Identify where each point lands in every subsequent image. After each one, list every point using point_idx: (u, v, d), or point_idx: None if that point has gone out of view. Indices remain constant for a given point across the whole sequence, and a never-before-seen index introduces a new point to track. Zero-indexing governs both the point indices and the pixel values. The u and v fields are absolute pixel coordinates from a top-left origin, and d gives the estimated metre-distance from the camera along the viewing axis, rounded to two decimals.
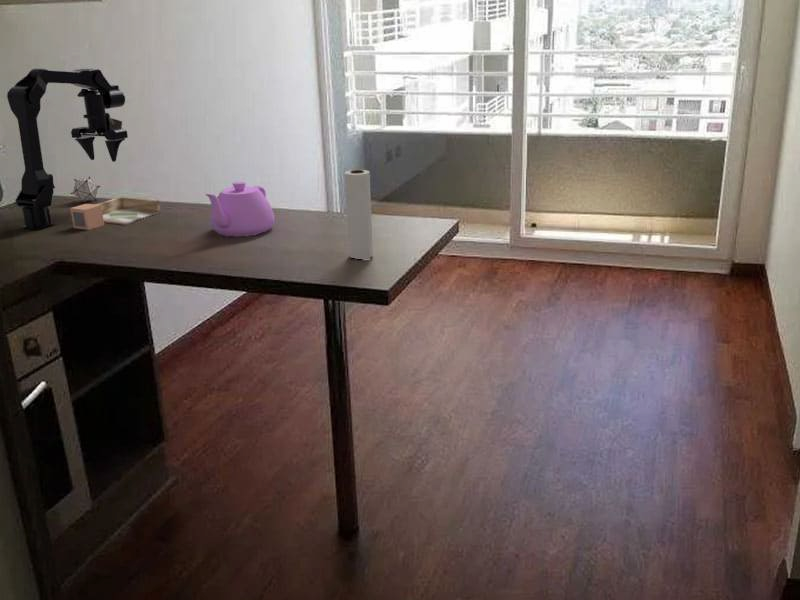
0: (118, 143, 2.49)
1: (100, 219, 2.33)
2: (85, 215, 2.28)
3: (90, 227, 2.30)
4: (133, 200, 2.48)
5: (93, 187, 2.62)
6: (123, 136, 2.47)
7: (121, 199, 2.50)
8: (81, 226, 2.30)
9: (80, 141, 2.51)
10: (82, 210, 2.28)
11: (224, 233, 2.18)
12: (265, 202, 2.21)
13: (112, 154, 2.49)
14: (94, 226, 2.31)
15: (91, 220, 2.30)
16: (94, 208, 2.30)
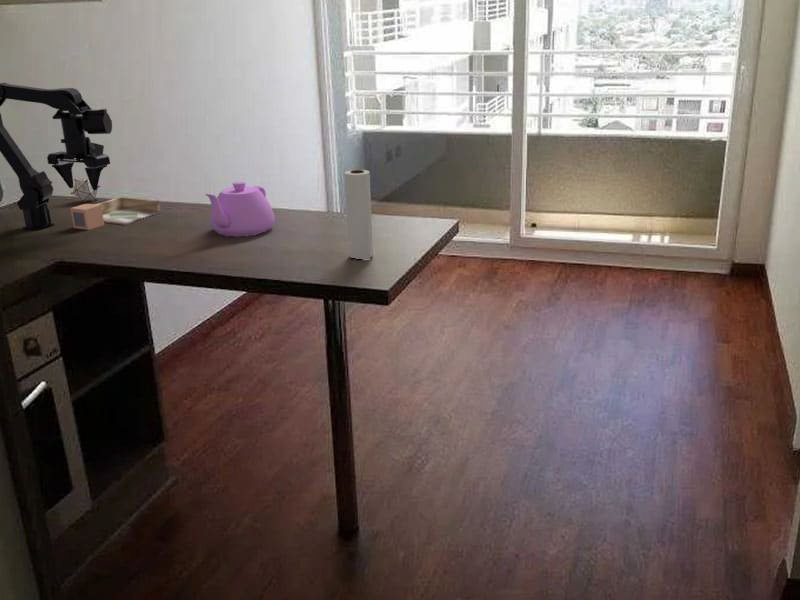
0: (99, 170, 2.26)
1: (100, 219, 2.33)
2: (85, 215, 2.28)
3: (90, 227, 2.30)
4: (133, 200, 2.48)
5: None
6: (105, 163, 2.24)
7: (121, 199, 2.50)
8: (81, 226, 2.30)
9: (57, 168, 2.28)
10: (82, 210, 2.28)
11: (224, 233, 2.18)
12: (265, 202, 2.21)
13: (93, 182, 2.26)
14: (94, 226, 2.31)
15: (91, 220, 2.30)
16: (94, 208, 2.30)
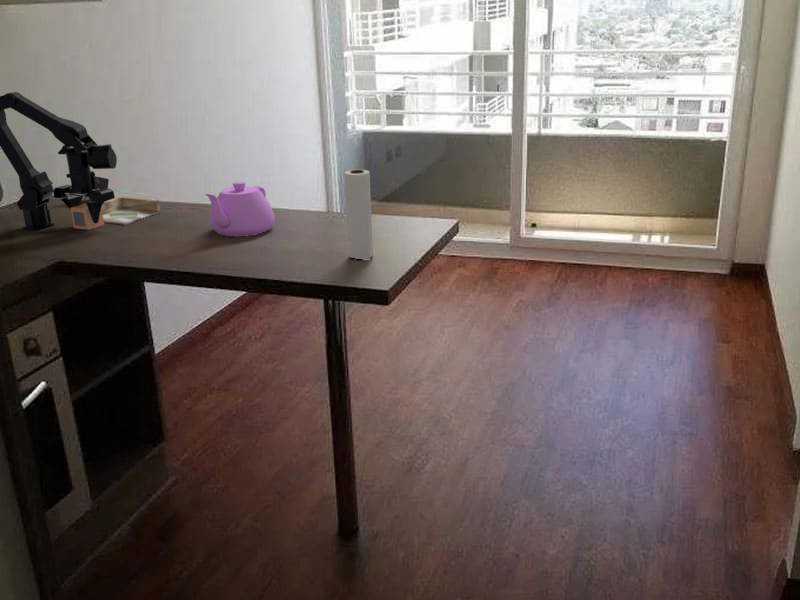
0: (100, 204, 2.30)
1: (100, 219, 2.33)
2: (84, 215, 2.28)
3: (90, 227, 2.30)
4: (133, 200, 2.48)
5: None
6: (109, 197, 2.27)
7: (121, 199, 2.50)
8: (81, 226, 2.30)
9: (66, 202, 2.30)
10: (82, 210, 2.28)
11: (224, 233, 2.18)
12: (265, 202, 2.21)
13: (94, 216, 2.29)
14: (94, 226, 2.31)
15: (91, 220, 2.30)
16: None
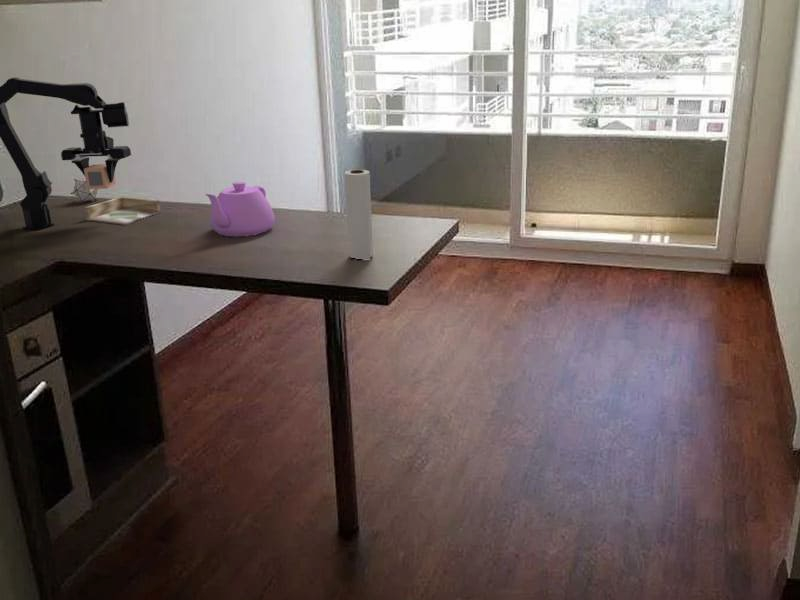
0: (116, 162, 2.33)
1: (113, 178, 2.35)
2: (103, 173, 2.30)
3: (108, 186, 2.32)
4: (133, 200, 2.48)
5: None
6: (128, 154, 2.31)
7: (121, 199, 2.50)
8: (98, 185, 2.31)
9: (79, 163, 2.30)
10: (100, 169, 2.30)
11: (224, 233, 2.18)
12: (265, 202, 2.21)
13: (111, 174, 2.32)
14: (110, 185, 2.33)
15: (108, 179, 2.32)
16: None
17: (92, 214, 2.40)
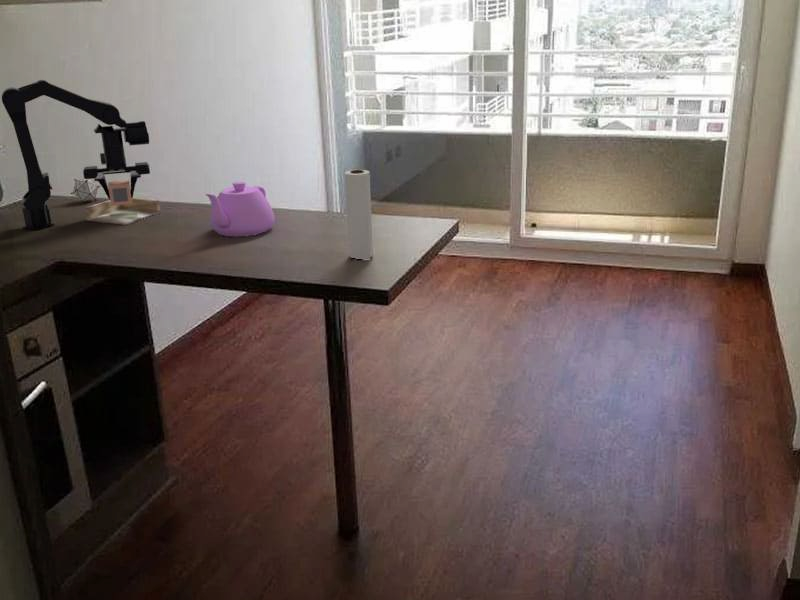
0: None
1: None
2: (128, 189, 2.39)
3: (131, 201, 2.41)
4: (133, 200, 2.48)
5: (93, 187, 2.62)
6: None
7: None
8: (123, 201, 2.39)
9: (103, 181, 2.36)
10: (125, 185, 2.38)
11: (224, 233, 2.18)
12: (265, 202, 2.21)
13: (133, 190, 2.41)
14: None
15: None
16: None
17: (92, 214, 2.40)
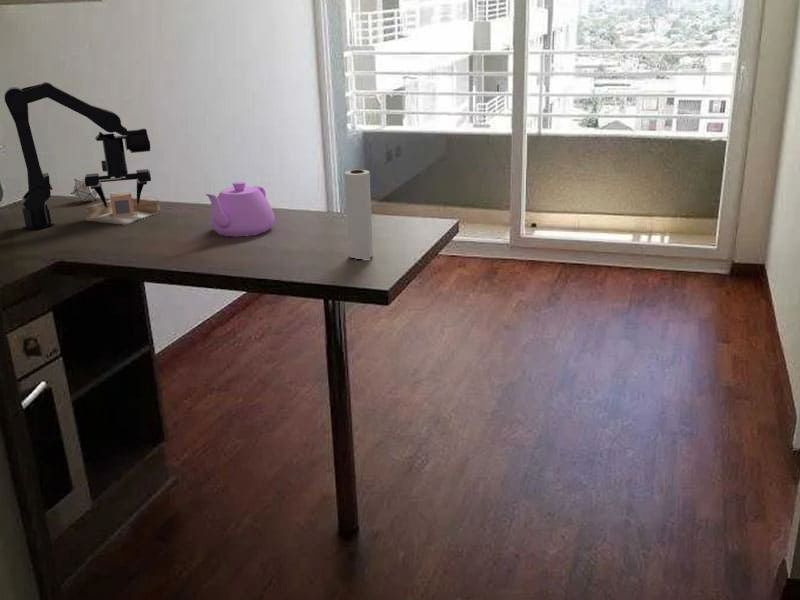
0: None
1: None
2: (130, 201, 2.40)
3: (133, 213, 2.42)
4: (133, 200, 2.48)
5: None
6: None
7: None
8: (125, 213, 2.41)
9: (99, 189, 2.36)
10: (127, 197, 2.39)
11: (224, 233, 2.18)
12: (265, 202, 2.21)
13: None
14: (133, 212, 2.44)
15: None
16: None
17: (92, 214, 2.40)
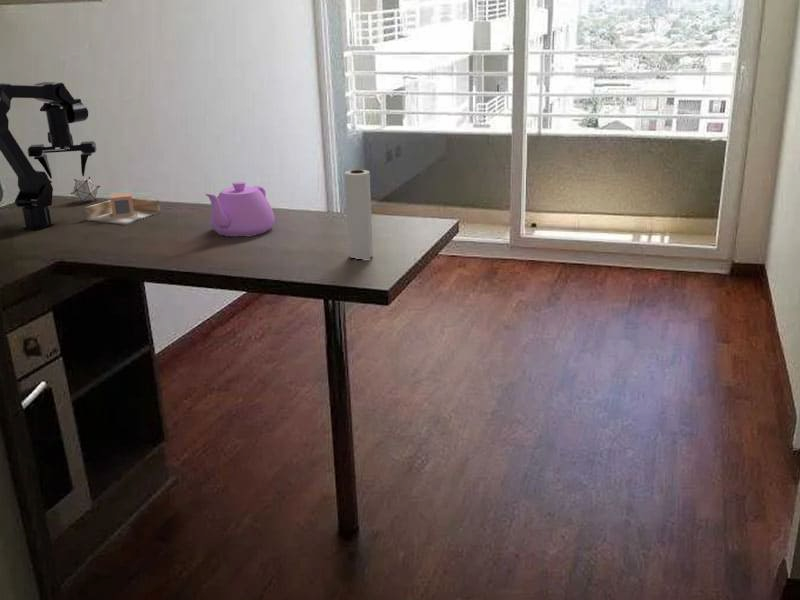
0: (87, 156, 2.44)
1: None
2: (130, 201, 2.40)
3: (133, 213, 2.42)
4: (133, 200, 2.48)
5: (93, 187, 2.62)
6: (95, 148, 2.43)
7: None
8: (125, 213, 2.41)
9: (42, 159, 2.37)
10: (127, 197, 2.39)
11: (224, 233, 2.18)
12: (265, 202, 2.21)
13: (84, 168, 2.43)
14: (133, 212, 2.44)
15: None
16: None
17: (92, 214, 2.40)
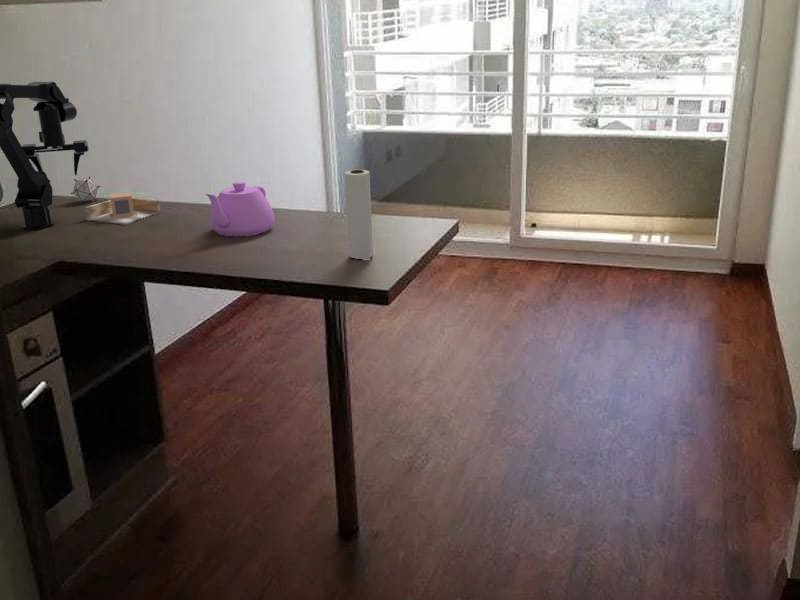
0: None
1: None
2: (130, 201, 2.40)
3: (133, 213, 2.42)
4: (133, 200, 2.48)
5: (93, 187, 2.62)
6: None
7: None
8: (125, 213, 2.41)
9: (35, 159, 2.37)
10: (127, 197, 2.39)
11: (224, 233, 2.18)
12: (265, 202, 2.21)
13: (77, 167, 2.43)
14: (133, 212, 2.44)
15: None
16: None
17: (92, 214, 2.40)
